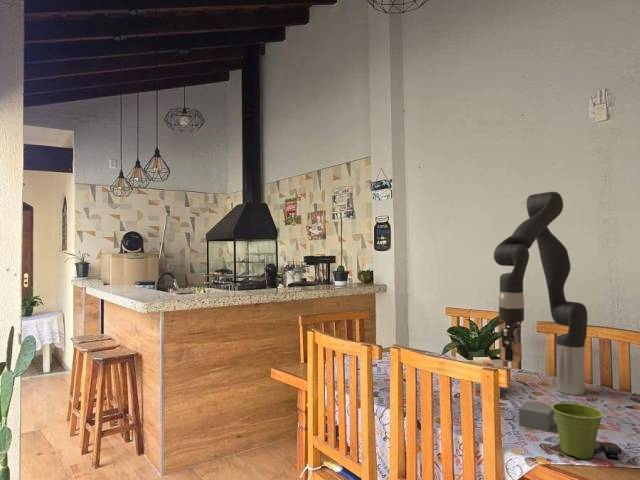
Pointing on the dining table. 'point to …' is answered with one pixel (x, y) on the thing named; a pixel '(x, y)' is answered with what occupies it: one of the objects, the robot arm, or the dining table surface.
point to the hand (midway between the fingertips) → (511, 358)
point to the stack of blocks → (485, 361)
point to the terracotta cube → (516, 353)
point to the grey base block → (536, 416)
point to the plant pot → (577, 428)
